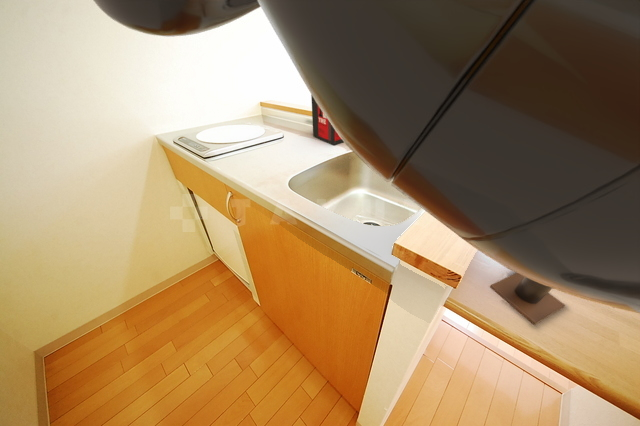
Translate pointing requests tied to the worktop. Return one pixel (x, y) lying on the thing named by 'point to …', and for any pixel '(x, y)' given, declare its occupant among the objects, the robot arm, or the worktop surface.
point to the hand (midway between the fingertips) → (551, 148)
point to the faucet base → (528, 297)
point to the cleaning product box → (323, 126)
